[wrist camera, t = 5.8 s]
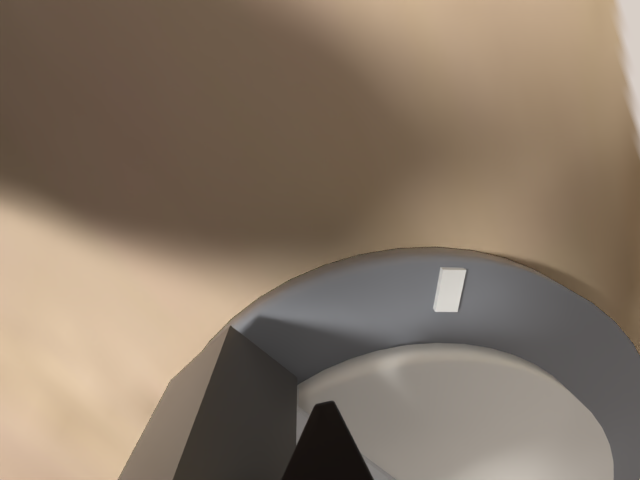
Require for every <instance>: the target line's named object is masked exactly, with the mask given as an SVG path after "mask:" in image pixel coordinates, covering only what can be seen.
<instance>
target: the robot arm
mask: <svg viewBox="0 0 640 480" xmlns="http://www.w3.org/2000/svg"><path fill="white" fill-rule="evenodd" d="M281 480H374V478H373V476H372V474H371V472H370V470H369V468H368V466H367V464H366V463H365V461H364V459H363V457H362V455H361V453H360V451H359V449H358V447H357V445H356V443H355V441H354V439H353V437H352V435H351V433H350V431H349V429H348V427H347V425H346V423H345V421H344V419H343V417H342V415H341V413H340V411H339V409H338V407H337V405H336V403H335V402H334V401H327V402H322V403H317V404H315V405H314V407H313V409H312V411H311V414H310V416H309V418H308V420H307V423H306V425H305V427H304V429H303V432H302V434H301V436H300V438H299V441H298V443H297V445H296V447H295V450H294V452H293V454H292V456H291V458H290V461H289V463H288V465H287V467H286V470H285V472H284V474H283V476H282V479H281Z"/></svg>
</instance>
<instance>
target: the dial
mask: <svg viewBox="0 0 640 480" xmlns="http://www.w3.org/2000/svg"><path fill="white" fill-rule="evenodd" d="M327 401H334V402H335V403H336V405H337V407H338V409H339V411H340V413H341V415H342V417H343V419H344V421H345V423H346V425H347V427H348V429H349V431H350V433H351V435H352V437H353V439H354V441H355V443H356V445H357V447H358V449H359V451H360V453H361V455H362V457H363V459H364V461H365V463H366V464H367V466H368V468H369V470H370V472H371V474H372V476H373V478H374V480H614V462H613V457H612V452H611V448H610V444H609V442H608V439H607V437H606V435H605V433H604V430H603V428H602V427H601V425H600V424H599V422H598V421H597V420H596V418H595V417H594V415H593V414H592V413H591V411H589V410H588V409H587V408H586V407H585V406H584V405H583V404H582V403H581V402H580V401H579V400H578V399H577V398H576V397H575V396H574V395H573V394H572V393H571V392H570V391H569V390H568V389H566V388H565V387H564V386H563V385H562V384H561V383H560V382H559V381H558V380H557V379H556V378H555V377H554V376H552V375H550V374H549V373H547V372H546V371H544V370H543V369H541V368H540V367H538V366H537V365H535V364H533V363H531V362H528V361H526V360H524V359H522V358H520V357H517V356H515V355H512V354H509V353H506V352H502V351H499V350H495V349H492V348H487V347H481V346H474V345H468V344H455V343H427V344H413V345H404V346H399V347H394V348H388V349H383V350H378V351H374V352H371V353H368V354H364V355H361V356H358V357H354V358H351V359H348V360H346V361H344V362H341V363H339V364H337V365H334V366H332V367H330V368H327V369H325V370H323V371H321V372H319V373H318V374H316V375H314V376H312V377H310V378H309V379H307V380H305V381H303V382H302V383H300V384H298V385H297V377H296V376H295V375H293V374H292V373H291V372H290V371H288V370H287V369H286V368H285V367H283V366H282V365H281V364H279V363H278V362H277V361H276V360H274V359H273V358H272V357H270V356H269V355H268V354H267V353H265V352H264V351H263V350H261V349H260V348H259V347H258V346H256V345H255V344H254V343H253V342H251V341H250V340H249V339H247V338H246V337H245V336H244V335H242V334H241V333H240V332H238V331H237V330H236V329H235V328H233V327H232V326H231V325H230V326H229V327H228V328H226V329H225V330H224V331H223V332H222V333H221V334H220V335H219V336H218V337H217V338H216V339H215V340H214V341H213V342H211V343H210V344H209V345H208V346H207V347H206V348H205V349H204V350H203V351H202V352H201V353H200V354H199V355H197V356H196V357H195V358H194V359H193V360H192V361H191V362H190V363H189V364H188V365H187V366H186V367H185V368H183V369H182V370H181V371H180V372H179V373H178V374H177V375H176V376H175V377H174V378H173V379H172V380H171V381H170V382H169V384H168V386H167V388H166V390H165V392H164V394H163V396H162V397H161V399H160V401H159V403H158V405H157V407H156V409H155V411H154V412H153V414H152V416H151V418H150V420H149V422H148V424H147V426H146V428H145V429H144V431H143V433H142V435H141V437H140V439H139V441H138V443H137V444H136V446H135V448H134V450H133V452H132V454H131V456H130V458H129V460H128V461H127V463H126V465H125V467H124V469H123V471H122V473H121V475H120V476H119V478H118V480H281V479H282V476H283V474H284V472H285V470H286V467H287V465H288V463H289V461H290V458H291V456H292V454H293V452H294V450H295V447H296V445H297V443H298V441H299V438H300V436H301V434H302V432H303V429H304V427H305V425H306V423H307V420H308V418H309V416H310V414H311V411H312V409H313V407H314V405H315V404H317V403H322V402H327Z"/></svg>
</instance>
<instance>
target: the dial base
mask: <svg viewBox="0 0 640 480" xmlns="http://www.w3.org/2000/svg"><path fill="white" fill-rule="evenodd" d="M230 325H231V326H232V327H233V328H235V329H236V330H237V331H238V332H240V333H241V334H242V335H244V336H245V337H246V338H247V339H249V340H250V341H251V342H253V343H254V344H255V345H256V346H258V347H259V348H260V349H261V350H263V351H264V352H265V353H267V354H268V355H269V356H270V357H272V358H273V359H274V360H276V361H277V362H278V363H279V364H281V365H282V366H283V367H285V368H286V369H287V370H288V371H290V372H291V373H292V374H293V375H295V376H296V377H297V385H298V384H300V383H302V382H303V381H305V380H307V379H309V378H310V377H312V376H314V375H316V374H318V373H319V372H321V371H323V370H325V369H327V368H330V367H332V366H334V365H337V364H339V363H341V362H344V361H346V360H348V359H351V358H354V357H358V356H361V355H364V354H368V353H371V352H374V351H378V350H383V349H388V348H394V347H399V346H404V345H413V344H427V343H455V344H468V345H474V346H481V347H487V348H492V349H495V350H499V351H502V352H506V353H509V354H512V355H515V356H517V357H520V358H522V359H524V360H526V361H528V362H531V363H533V364H535V365H537V366H538V367H540V368H541V369H543V370H544V371H546V372H547V373H549V374H550V375H552V376H554V377H555V378H556V379H557V380H558V381H559V382H560V383H561V384H562V385H563V386H564V387H565V388H566V389H568V390H569V391H570V392H571V393H572V394H573V395H574V396H575V397H576V398H577V399H578V400H579V401H580V402H581V403H582V404H583V405H584V406H585V407H586V408H587V409H588V410H589V411H591V413H592V414H593V415H594V417H595V418H596V420H597V421H598V422H599V424H600V425H601V427H602V428H603V430H604V433H605V435H606V437H607V439H608V442H609V444H610V448H611V452H612V457H613V462H614V480H639V479H640V355H639V354H638V352H637V350H636V348H635V346H634V344H633V343H632V342H631V340H630V339H629V338H628V337H627V336H626V334H625V333H624V332H623V331H622V330H621V328H620V327H619V326H618V325H617V324H616V322H615V321H613V320H612V319H611V318H610V317H609V316H607V315H606V314H605V313H604V312H603V311H601V310H600V309H599V308H598V307H597V306H595V305H594V304H593V303H592V302H590V301H588V300H586V299H585V298H583V297H581V296H580V295H578V294H576V293H574V292H573V291H571V290H569V289H567V288H566V287H564V286H562V285H561V284H559V283H557V282H555V281H554V280H552V279H550V278H548V277H547V276H545V275H543V274H541V273H540V272H538V271H536V270H534V269H532V268H529V267H527V266H524V265H522V264H519V263H516V262H514V261H511V260H509V259H506V258H503V257H498V256H494V255H490V254H485V253H481V252H477V251H472V250H463V249H452V248H441V247H422V248H398V249H391V250H385V251H379V252H373V253H367V254H361V255H357V256H354V257H350V258H347V259H343V260H340V261H336V262H333V263H329V264H326V265H323V266H321V267H318V268H316V269H314V270H311V271H309V272H307V273H304V274H302V275H300V276H297V277H295V278H293V279H290V280H288V281H287V282H285V283H283V284H282V285H280V286H278V287H276V288H275V289H273V290H271V291H270V292H268V293H266V294H264V295H263V296H261V297H259V298H258V299H257V300H255V301H254V302H253V303H251V304H250V305H249V306H247V307H246V308H245V309H244V310H242V311H241V312H240V313H238V314H237V315H236V316H234V317H233V318H232V319H231V320H230V321H229V322H228V323H227V324H226V325H225V326H224V327H223V328H222V329H221V330H220V331H219V332H218V333H217V334H216V335H215V336H214V337H213V338H212V339H211V340H210V341H209V343H208V344H207V345H206V347H207V346H208V345H209V344H210V343H211V342H213V341H214V340H215V339H216V338H217V337H218V336H219V335H220V334H221V333H222V332H223V331H224V330H225V329H226V328H228V327H229V326H230ZM206 347H205V348H206ZM205 348H204V349H205ZM204 349H203V350H204Z"/></svg>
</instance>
